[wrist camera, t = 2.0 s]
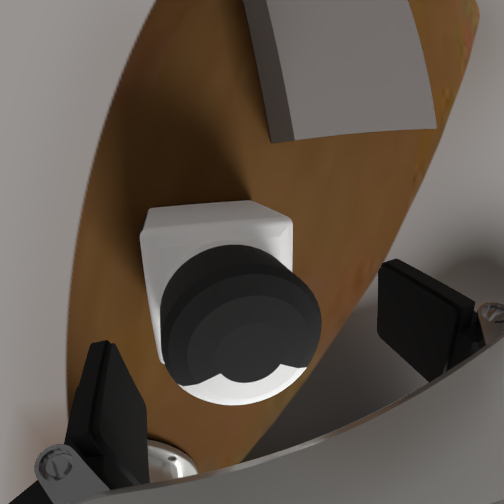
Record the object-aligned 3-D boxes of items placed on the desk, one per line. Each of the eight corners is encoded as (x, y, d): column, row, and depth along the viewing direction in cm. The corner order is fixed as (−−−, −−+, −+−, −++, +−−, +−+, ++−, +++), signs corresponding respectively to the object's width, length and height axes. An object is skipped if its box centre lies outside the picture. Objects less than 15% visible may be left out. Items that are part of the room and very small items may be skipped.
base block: (403, 129, 23) (436, 128, 19) (271, 143, 21) (294, 140, 17) (372, -6, 19) (399, -22, 15) (238, -18, 16) (254, -46, 13)
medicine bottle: (146, 207, 20) (126, 266, 8) (253, 199, 21) (351, 243, 10) (158, 308, 22) (166, 437, 11) (255, 296, 23) (333, 403, 12)
